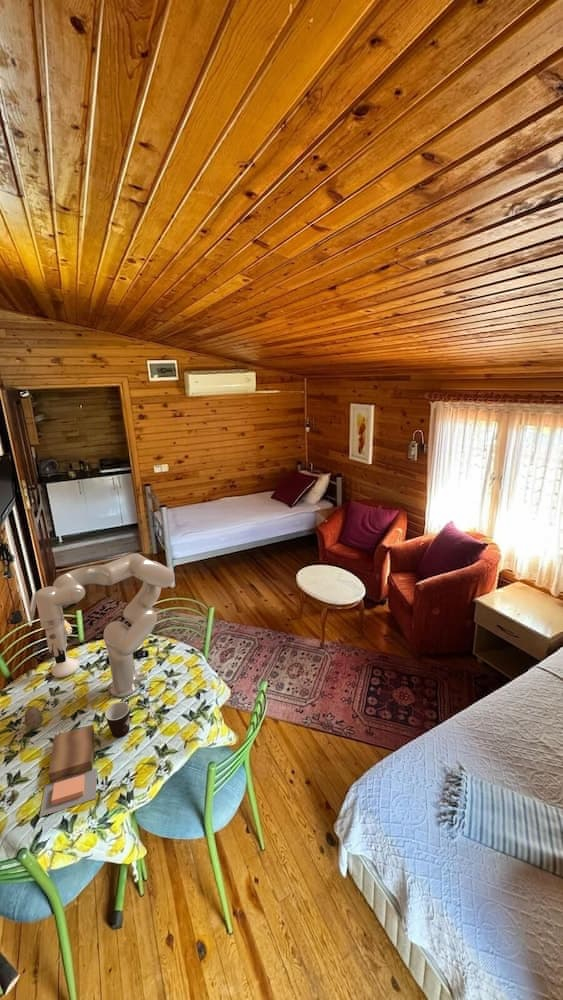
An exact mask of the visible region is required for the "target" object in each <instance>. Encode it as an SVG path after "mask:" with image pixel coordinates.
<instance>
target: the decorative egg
mask: <svg viewBox="0 0 563 1000" xmlns="http://www.w3.org/2000/svg"><path fill="white" fill-rule="evenodd" d="M43 721H44V716H43V713H42V711H41V710H40V709H39V708H38V707H37V706H35V705H31V706H29V707H27V709H26V711H25V713H24V725H25V727H26V728H27V729H28V730H30V731H35V730H38V729H39V728H40V727H41V725H42V724H43Z"/></svg>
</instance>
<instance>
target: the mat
mask: <svg viewBox="0 0 563 1000" xmlns="http://www.w3.org/2000/svg"><path fill="white" fill-rule="evenodd" d="M81 775H84V776H85V786H84V795H83V796H80V797H77V798H74V799H71V800H68V801H64V802H61V803H58V804H55V805H52V801H51V800H52V794H53V788H54V783H57V782H61V781H64V780H67V779H71V778H74V777H77V776H81ZM97 780H98V768H95V769H92V770H89V771H86V772H83V773H80V774H76V775H73V776H70V777H67V778H64V779H60V780H57V781H54V782H51V783H50V782H49V783H46V784H44V789H43V794H42V800H41V805H40V810H39V811H40V812H39V817H41V818H43V816H44V817H45V815H47V816H49V815H48V814H50V815H52V814H51V813H53V814H55V813H54V812H56V813H58V812H57V811H59V810H62V811H64V810H63V809H65V808H68V809H70V808H72V806H73V807H76V806H79V805H82V804H85V803H87V802H88V803H89V802H92V801H94V800H96V799H97ZM78 804H79V805H78ZM75 805H76V806H75ZM69 807H70V808H69ZM65 810H66V809H65ZM59 812H60V811H59Z"/></svg>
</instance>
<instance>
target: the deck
mask: <svg viewBox="0 0 563 1000" xmlns="http://www.w3.org/2000/svg"><path fill="white" fill-rule="evenodd" d="M95 733H96V731H95V726H94V724H91V725H87V726H83V727H80V728H76V729H73V730H69V731H66V732H61V733H59V734H55V735H54V737H53V744H52V748H51V749H52V750H51V755H50V761H49V768H48V771H47V773H48V774H47V775H48V779H49V784H50V783H53V782H56V781H59V780H62V779H65V778H69V777H72V776H75V775H78V774H81V773H85V772H88V771H91V770H94V769H93V766H94V752H95V750H94V749H95Z"/></svg>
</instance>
